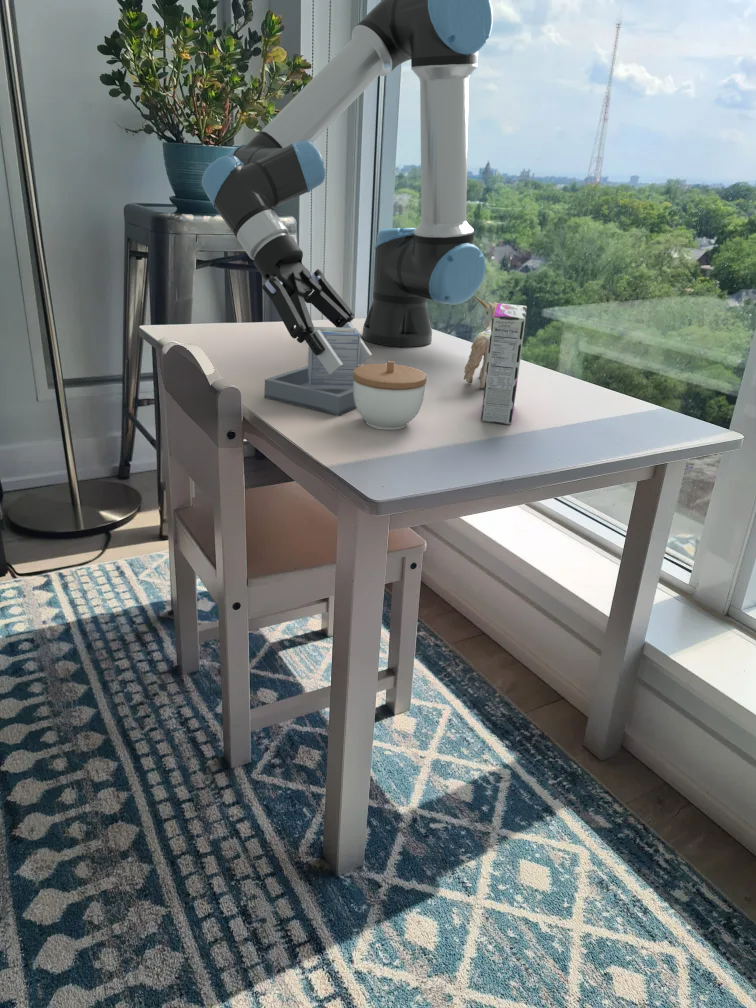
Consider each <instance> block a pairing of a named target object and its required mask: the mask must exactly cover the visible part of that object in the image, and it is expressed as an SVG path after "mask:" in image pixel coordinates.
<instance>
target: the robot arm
mask: <svg viewBox="0 0 756 1008" xmlns="http://www.w3.org/2000/svg"><path fill="white" fill-rule="evenodd" d="M493 17H494V14H493V6H492V3H491V0H380V2H379V3H377V4H376V5H375V6H374V7H373V8H372V10H370V12H368V13H367V14H366V15H365V17H363V19H362V20H360V21H359V23H358V24H357V25H355V26H354V28H353V29H352V31H351V39H350V41H348V42H347V44H345V46H343V48H342V49H341V50H339V51H338V53H337V54H335V56H334V57H333V58H331V60H330V61H329V62H328V63H327V64H326V65H325V66H324V67H323V68H322V69H321V70H320V71H319V72H318V73H317V74H316V75H315V76H314V77H313V78H312V79H311V80H310V81H309V82H308V83H307V84H305V86H304V87H303V88H302V89H300V91H299V92H298V93H297V94H296V95H295V96H294V97H293V98H292V99H291V100H290V101H289V102H288V103H287V104H286V105H285V106H284V107H283V108H282V109H281V110H280V111H279V112H278V113H277V114H276V115H275V116H274V118H272V119H271V120H270V122H268V124H266V125H265V127H263V128H262V130H260V131H259V132H258V133H257V134H255V136H254V137H253V138H251V140H250V141H249V142H247V144H241V145H240V146H236V147H233V148H232V149H231V150H230V151H229V153H228V154H227V155H223V156H221V157H219V158H217V159H216V160H214V161H212V162H211V163H210V164H209V165H208V166H207V167H206V168H205V170H204V172H203V175H202V177H201V186H202V189H203V190H204V192H205V194H206V196H207V198H208V199H209V201H210V203H211V205H212V207H213V208H214V209H215V210H216V211H217V213H218V214H219V216H220V217H221V218H222V220H223V221H224V222H225V224H226V225H227V226H228V228H229V229H230V231H231V232H232V233H233V235H234V237H235V238H236V239H237V241H238V243H239V244H240V245H241V246H242V248H243V250H244V252H245V253H246V254H247V256H248V257H249V259H251V260H253V265H254V266H255V267H256V269H257V271H258V272H259V273H260V275H261V277H262V278H263V279H264V281H265V283H264V284H263V285H262V287H261V288H262V289H263V291H264V292H265V293H266V295H267V296H268V297H269V298H270V300H271V302H272V304H273V305H274V307H275V310H276V311H277V313H278V315H279V317H280V318H281V320H282V323H283V324H284V326H285V327H286V330H287V332H288V333H289V335H290V337H291V338H292V339H296V341H297V342H298V343H299V344H303V343H304V342H306V344H307V345H308V348H309V347H310V348H311V350H312V351H313V353H314V354H315V355H316V356H317V357H318V359H319V360H320V362H321V363H322V365H323V366H324V367H325V369H326V370H327V372H328V373H329V375H331V374H333V373H334V372H335V371H336V370H337V369H338V368H339V367H341V366H342V365H343V363H342V362H341V360H340V359H339V358H338V356H337V355H336V353H335V352H334V350H333V349H332V347H331V346H330V344H329V343H328V342H327V340H326V339H325V337H324V336H323V334H322V333H321V331H320V330H317V331H316V332H315V333H314V330H315V329H314V327H315V326H314V323H313V320H312V318H311V315H310V312H309V309H308V306H307V304H311V305H313V306H314V308H315V309H317V310H318V311H319V312H320V314H322V316H324V317H325V318H326V319H327V320H328V321H330V323H332V324H333V325H334V327H340V328H355V327H354V326H353V324H352V321H353V320H354V319H355V313H354V312H353V311H352V309H351V308H350V307H349V306H348V304H347V303H346V302H345V301H344V300H343V299H342V297H341V296H340V295H339V294H338V293H337V291H336V290H335V289H334V287H333V286H332V285H331V284H330V283H329V281H327V279H326V277H325V275H324V273H323V271H322V270H320V269H319V268H317V269H315V271H313V272H310V270H309V269H308V268H307V267H305V265H304V264H303V257H304V253H303V250H302V248H301V247H300V246H299V245H298V243H297V241H296V240H295V239H294V237H293V236H292V235H289V233H290V232H289V230H288V228H287V226H285V224H284V223H283V221H282V220H281V218H280V217H279V216H278V214H277V213H276V211H275V208H277V207H279V206H281V205H283V204H286V203H287V202H290V201H292V200H293V199H294V200H295V199H296V198H298V197H300V196H303V195H304V194H306V193H310V192H311V191H312V190H314V189H316V188H317V187H319V186H321V185H322V184H323V182H324V181H325V178H326V167H325V164H324V163H325V162H324V160H323V156H322V154H321V152H320V151H319V149H318V148H317V147H316V145H315V144H314V142H315V141H316V140H317V139H318V138H319V137H320V136H321V135H322V134H323V133H324V132H325V131H326V130H327V129H328V128H329V127H330V126H331V125H332V124H333V123H334V122H335V121H336V120H337V118H339V117H340V116H341V115H342V114H343V113H344V112H345V111H346V109H348V108H349V107H350V106H351V105H352V104H353V102H355V101H356V100H357V99H358V98H359V96H361V94H363V93H364V92H365V91H366V89H368V87H370V86H371V85H372V84H373V82H375V80H376V79H377V78H378V77H387V76H389V74H390V73H392V72H393V70H395V69H396V68H397V67H398V66H400V65H401V64H403V63H405V62H409V61H411V63H410V64H411V68H410V69H411V70H412V71H413V72H414V74H415V76H417V77H418V79H419V87H420V88H419V93H420V96H419V97H420V98H419V100H420V101H419V106H420V108H419V109H420V119H419V120H420V203H421V204H420V219H421V221H420V223H419V224H418V225H417V226H416V227H397V228H396V227H395V228H394V227H393V228H390V227H389V228H383V229H381V230H379V231H378V233H377V236H376V240H375V241H376V242H375V247H374V251H375V252H374V253H375V254H374V255H375V256H374V271H373V289H372V291H373V293H372V303H371V305H370V308H369V310H368V313H367V316H366V319H365V320H364V324H363V327H362V338H361V339H360V355H359V365H361V364H363V363H364V362H365V361H366V360H368V359H369V357H371V356H372V355H373V354H372V353H371V351H370V349H369V347H367V344H365V342H364V340H366V341H367V342H369V343H374V344H377V345H378V344H379V345H384V346H390V347H403V348H404V347H405V348H407V347H409V348H410V347H421V346H427V345H429V344H431V342H432V338H433V329H432V325H431V321H430V316H429V312H428V307H427V304H428V303H427V302H428V300H431V301H433V302H436V303H438V304H443V305H444V304H446V305H450V306H451V305H454V306H455V305H460V304H463V303H465V302H467V301H468V300H469V299H471V298H472V297H473V296H474V295H475V293H476V291H478V290H479V289H480V286H481V285H482V283H483V281H484V278H485V273H486V259H485V256H484V253H482V252H481V249H480V248H479V247H478V246H476V245H475V244H474V242H475V238H474V237H475V229H474V228H473V227H472V226H471V224H469V223H468V221H467V195H468V194H467V193H468V191H467V190H468V187H467V185H468V144H469V143H468V142H469V141H468V139H469V138H468V137H469V136H468V135H469V134H468V129H469V88H470V87H469V84H470V83H469V82H470V81H469V80H470V79H469V78H470V77H471V75H472V74H473V73H474V71H475V70H476V69H477V67H478V63H479V61H478V59H479V51H480V50H482V49H483V48H484V46H485V45H486V44H487V40H488V39H489V38H490V35H491V33H492V29H493V21H494V20H493V19H494V18H493ZM363 339H364V340H363Z"/></svg>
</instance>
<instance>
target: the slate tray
mask: <svg viewBox="0 0 756 1008" xmlns="http://www.w3.org/2000/svg"><path fill="white" fill-rule="evenodd" d="M264 399H268V400H272V401H276V402H280V403H285V404H288V405H291V406H292V405H293V406H296V407H300V408H304V409H308V410H313V411H315V412H321V413H324V414H329V415H333V416H336V417H337V416H338V417H340V416H341V415H345V414H347V413H349V412H351V411H353V410H355V409H356V410H357V408H356V405H355V402H354V395H353V386H341V385H310V383H309V379H308V365H305V366H303V367H300V368H296V369H294V370H290V371H286V372H284V373H281V374H277V375H274V376H271V377H268V378H265V379H264Z"/></svg>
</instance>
